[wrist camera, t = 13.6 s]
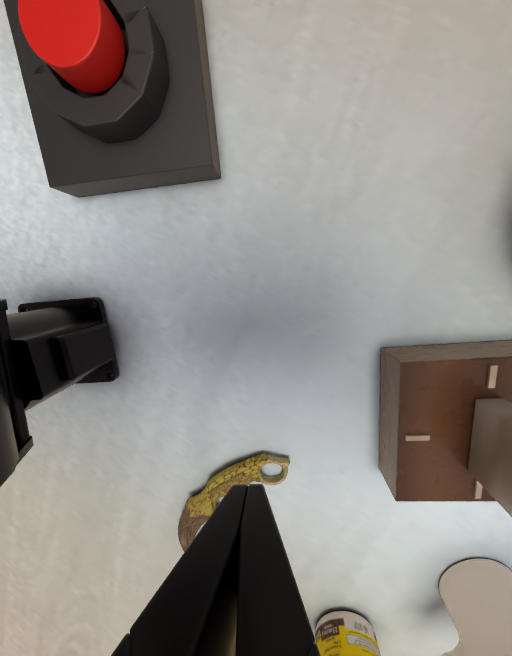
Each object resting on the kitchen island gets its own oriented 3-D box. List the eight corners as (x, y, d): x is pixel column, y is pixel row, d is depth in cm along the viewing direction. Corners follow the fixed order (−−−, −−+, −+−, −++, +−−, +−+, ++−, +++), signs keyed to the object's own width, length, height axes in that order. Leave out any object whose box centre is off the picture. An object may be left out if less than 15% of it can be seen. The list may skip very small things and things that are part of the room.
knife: (197, 572, 23) (149, 547, 22) (199, 561, 24) (154, 536, 23) (299, 470, 20) (247, 437, 19) (297, 461, 20) (248, 429, 20)
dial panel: (378, 467, 20) (396, 504, 17) (380, 347, 18) (402, 363, 15) (516, 466, 19) (563, 504, 16) (537, 338, 17) (595, 353, 14)
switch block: (77, 197, 17) (19, 176, 13) (36, 15, 15) (-48, -74, 11) (221, 178, 16) (203, 149, 12) (199, -21, 14) (169, -132, 10)
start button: (64, 99, 13) (31, 73, 11) (44, 10, 12) (5, -34, 10) (132, 88, 12) (109, 58, 10) (116, -6, 11) (88, -54, 10)
